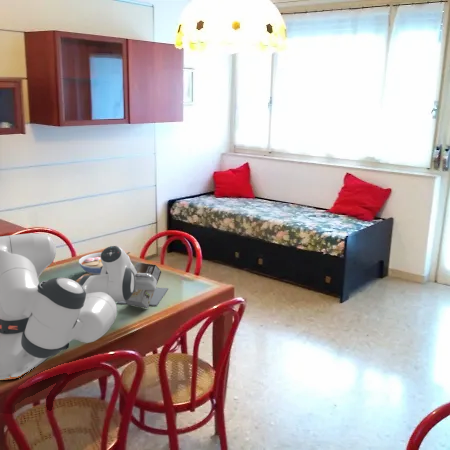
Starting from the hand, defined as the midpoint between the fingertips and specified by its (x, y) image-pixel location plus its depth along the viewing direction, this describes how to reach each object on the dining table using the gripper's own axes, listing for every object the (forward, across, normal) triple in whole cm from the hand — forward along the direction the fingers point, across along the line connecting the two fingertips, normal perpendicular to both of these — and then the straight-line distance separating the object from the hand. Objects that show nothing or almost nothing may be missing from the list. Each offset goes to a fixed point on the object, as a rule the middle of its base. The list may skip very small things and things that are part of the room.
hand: (133, 289), depth 195 cm
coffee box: (+5, 0, +4) cm, 6 cm away
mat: (+16, +1, -4) cm, 16 cm away
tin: (+13, +25, -2) cm, 28 cm away
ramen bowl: (+32, +26, -20) cm, 46 cm away
